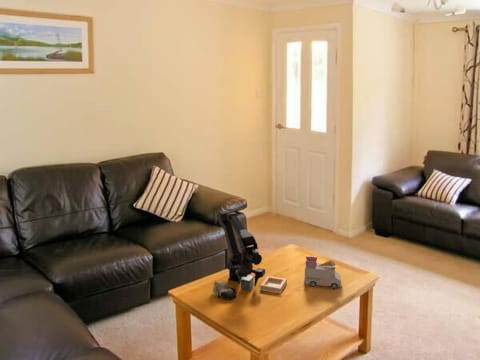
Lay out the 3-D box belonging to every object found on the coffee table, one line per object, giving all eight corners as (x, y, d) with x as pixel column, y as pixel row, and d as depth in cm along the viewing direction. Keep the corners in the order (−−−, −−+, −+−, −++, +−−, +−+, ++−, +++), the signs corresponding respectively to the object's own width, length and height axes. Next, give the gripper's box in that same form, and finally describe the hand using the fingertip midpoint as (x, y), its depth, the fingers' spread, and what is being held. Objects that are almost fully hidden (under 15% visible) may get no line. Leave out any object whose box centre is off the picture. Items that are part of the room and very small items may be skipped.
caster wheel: (237, 302, 240) (219, 304, 236) (229, 289, 249) (211, 290, 245) (239, 291, 238) (222, 293, 233) (231, 278, 247) (214, 279, 243)
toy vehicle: (340, 291, 246) (342, 264, 243) (303, 287, 250) (304, 261, 246) (340, 283, 255) (341, 257, 252) (304, 280, 259) (305, 254, 255)
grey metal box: (240, 289, 249) (240, 279, 247) (244, 284, 254) (244, 274, 253) (249, 291, 247) (249, 280, 245) (253, 286, 252) (253, 276, 251)
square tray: (260, 290, 248) (260, 285, 247) (267, 280, 259) (267, 275, 258) (280, 293, 244) (280, 288, 243) (286, 283, 255) (286, 279, 254)
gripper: (224, 261, 242) (225, 288, 246) (258, 266, 236) (258, 294, 239) (232, 253, 252) (233, 280, 256) (265, 258, 246) (265, 285, 250)
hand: (247, 285), depth 250 cm, fingers open, 9 cm apart
